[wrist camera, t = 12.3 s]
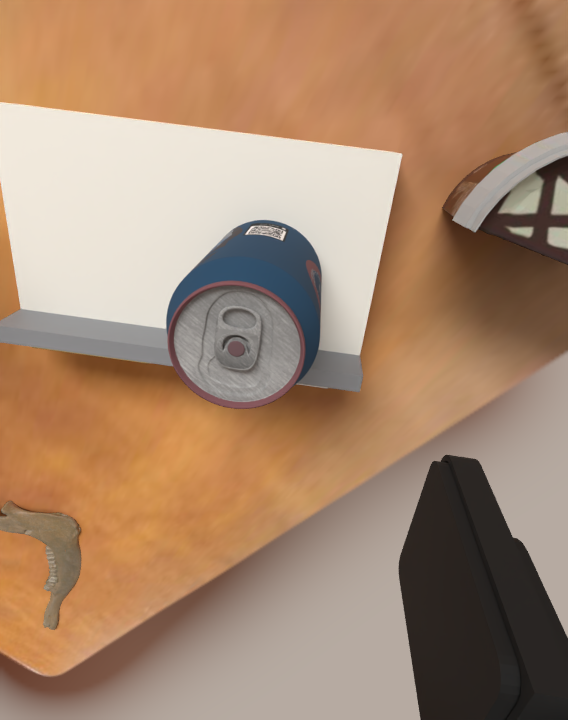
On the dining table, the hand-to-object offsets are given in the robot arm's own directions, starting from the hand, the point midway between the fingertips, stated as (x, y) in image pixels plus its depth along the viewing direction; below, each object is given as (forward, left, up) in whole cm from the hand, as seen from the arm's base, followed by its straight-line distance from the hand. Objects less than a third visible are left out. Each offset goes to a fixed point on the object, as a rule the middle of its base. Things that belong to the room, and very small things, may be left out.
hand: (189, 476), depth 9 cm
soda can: (+1, +2, -22) cm, 22 cm away
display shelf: (+6, +1, -25) cm, 25 cm away
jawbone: (+24, +38, -26) cm, 52 cm away
